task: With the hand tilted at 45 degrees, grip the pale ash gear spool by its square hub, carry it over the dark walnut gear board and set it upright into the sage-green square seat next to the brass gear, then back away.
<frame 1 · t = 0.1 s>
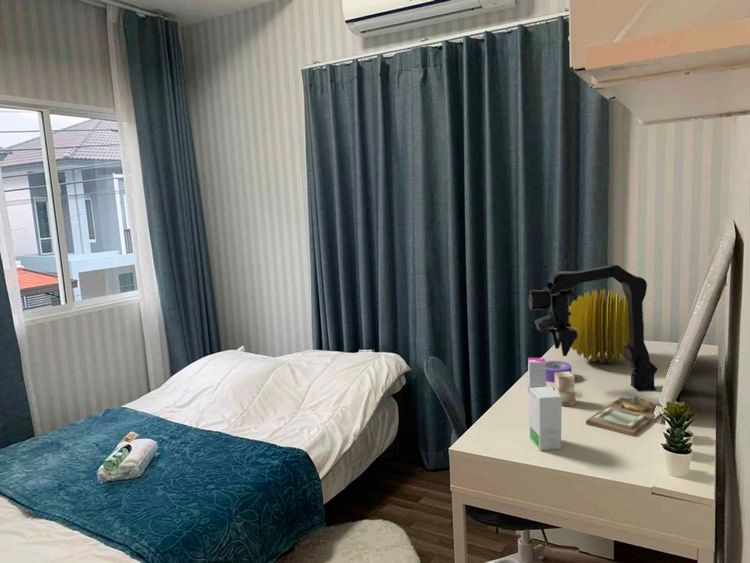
hand: (560, 352, 195), 15 cm above the table, tool pointing down, fingers open, 9 cm apart
tape roll: (555, 378, 213), on the table
skincare box: (546, 444, 158), on the table
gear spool: (564, 402, 187), on the table
lamp: (603, 362, 226), on the table
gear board: (626, 417, 172), on the table
supplement box: (537, 391, 200), on the table
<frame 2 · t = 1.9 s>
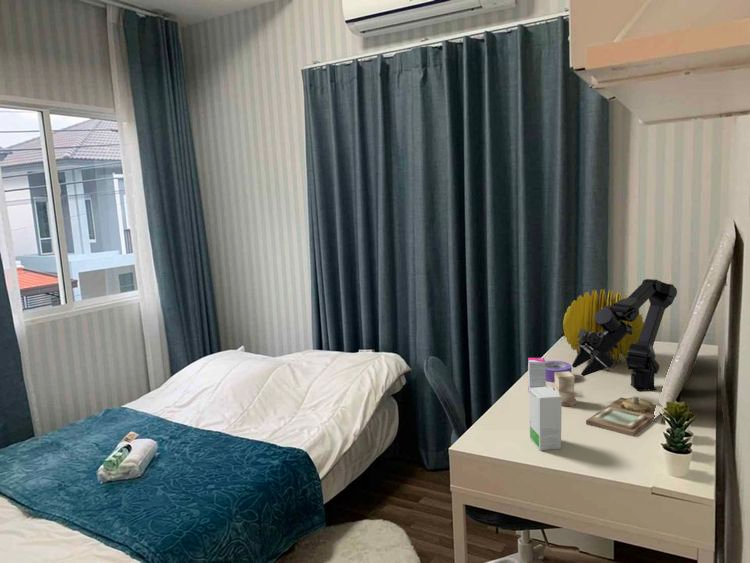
hand: (577, 370, 185), 11 cm above the table, tool tilted 45°, fingers open, 9 cm apart
nothing on the table moved.
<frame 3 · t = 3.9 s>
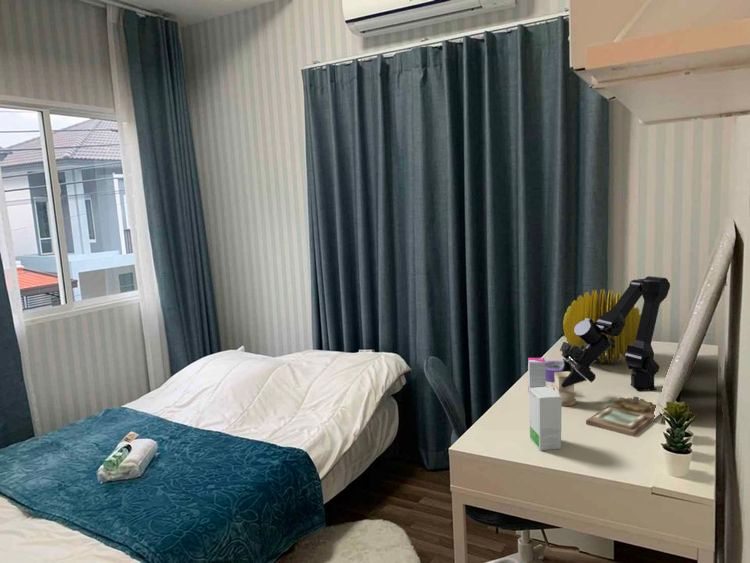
hand: (560, 383, 186), 7 cm above the table, tool tilted 45°, fingers closed on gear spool, 5 cm apart
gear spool: (564, 402, 187), on the table, touching gripper
everything else where it was.
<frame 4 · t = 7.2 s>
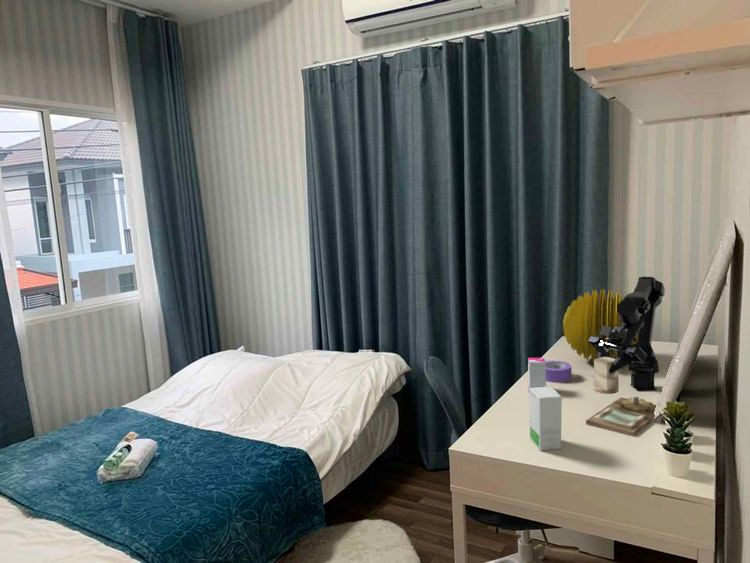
hand: (603, 370, 175), 14 cm above the table, tool tilted 45°, fingers closed on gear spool, 5 cm apart
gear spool: (606, 389, 177), point 7 cm above the table, touching gripper
everything else where it was.
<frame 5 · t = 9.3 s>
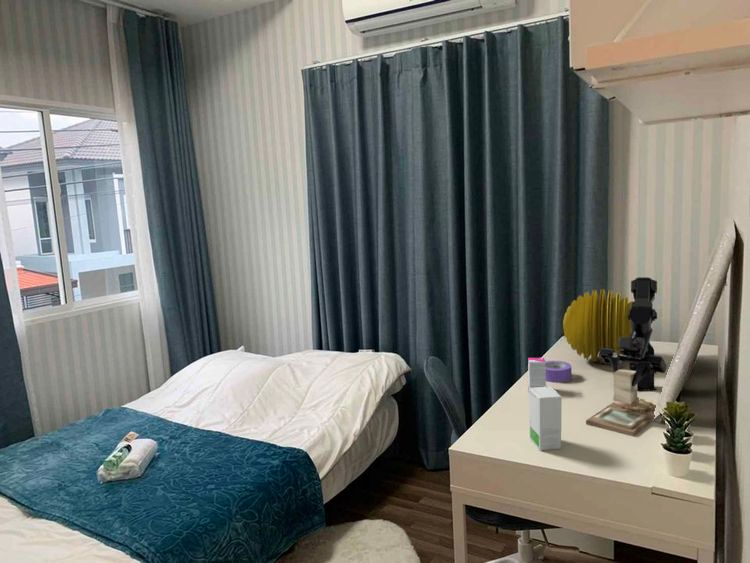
hand: (623, 383, 169), 11 cm above the table, tool tilted 45°, fingers closed on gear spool, 5 cm apart
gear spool: (625, 403, 171), point 5 cm above the table, touching gripper
everything else where it was.
when the fingers open (9 cm above the table, at t = 10.8 s): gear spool drops 1 cm, resting on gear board.
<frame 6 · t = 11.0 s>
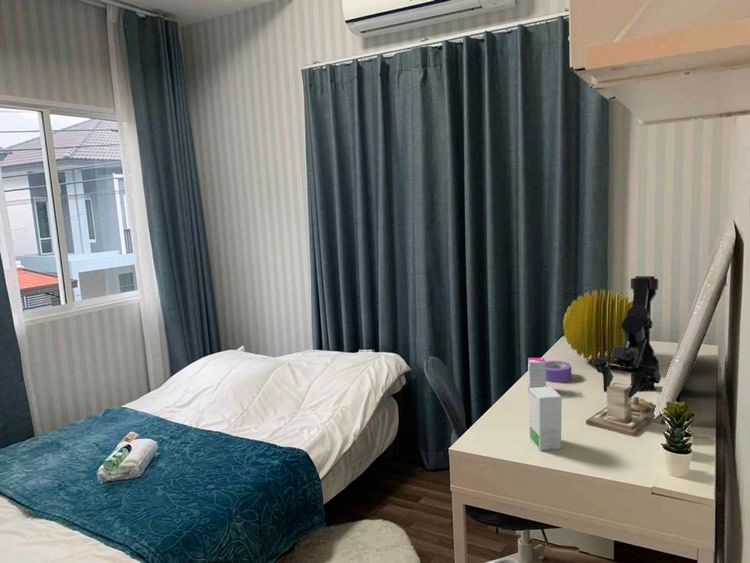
hand: (617, 394, 167), 9 cm above the table, tool tilted 45°, fingers open, 7 cm apart
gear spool: (619, 418, 169), point 1 cm above the table, touching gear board
everything else where it was.
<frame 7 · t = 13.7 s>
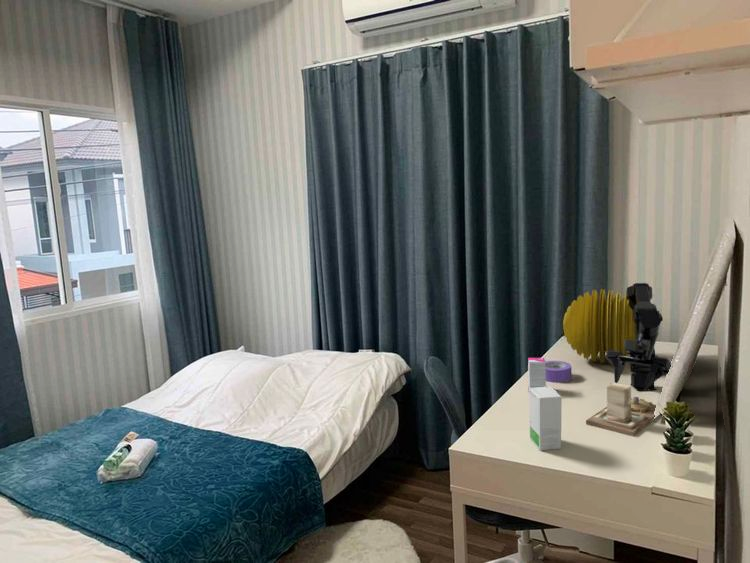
hand: (630, 385, 173), 9 cm above the table, tool tilted 45°, fingers open, 9 cm apart
nothing on the table moved.
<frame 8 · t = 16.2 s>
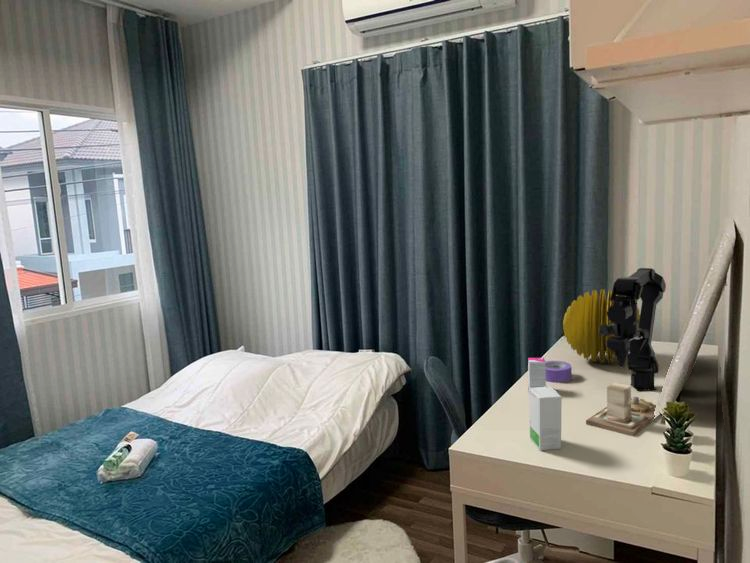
hand: (627, 363, 182), 13 cm above the table, tool pointing down, fingers open, 9 cm apart
nothing on the table moved.
at the end: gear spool 0.0 cm from the target spot, point 1.3 cm above the table; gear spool tilted 0°; the gripper is holding nothing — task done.
